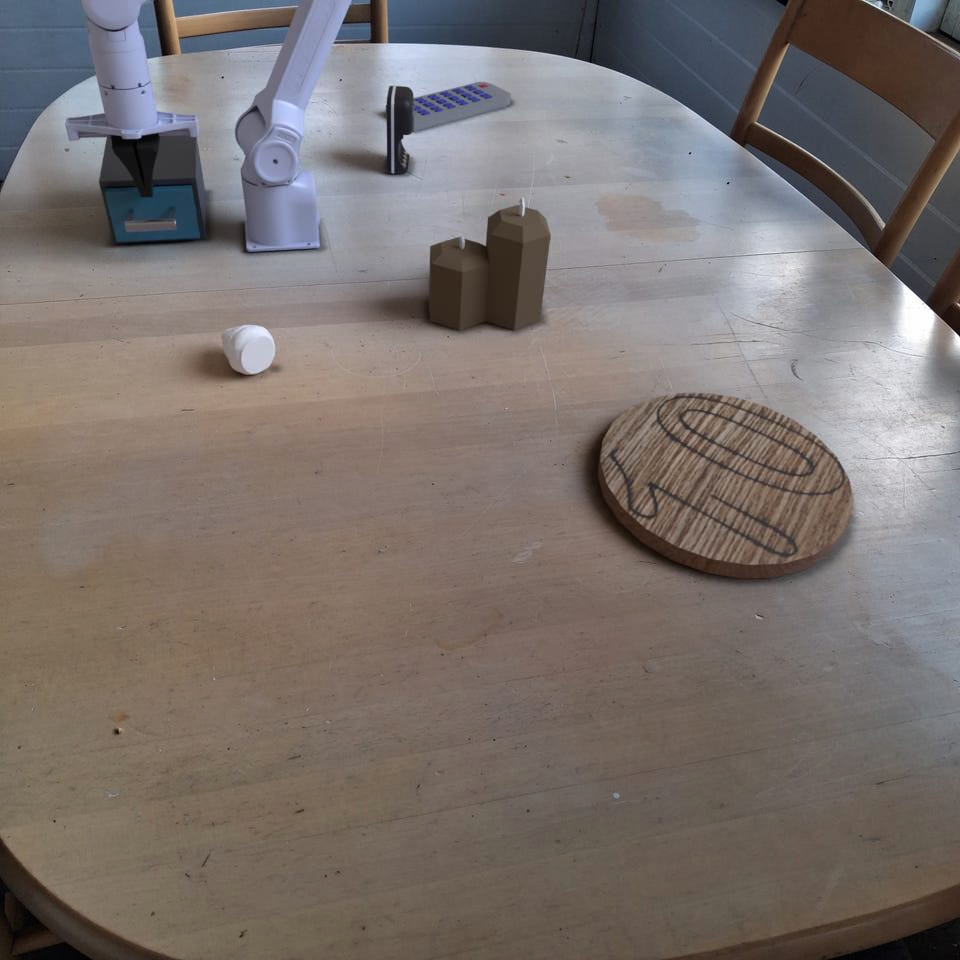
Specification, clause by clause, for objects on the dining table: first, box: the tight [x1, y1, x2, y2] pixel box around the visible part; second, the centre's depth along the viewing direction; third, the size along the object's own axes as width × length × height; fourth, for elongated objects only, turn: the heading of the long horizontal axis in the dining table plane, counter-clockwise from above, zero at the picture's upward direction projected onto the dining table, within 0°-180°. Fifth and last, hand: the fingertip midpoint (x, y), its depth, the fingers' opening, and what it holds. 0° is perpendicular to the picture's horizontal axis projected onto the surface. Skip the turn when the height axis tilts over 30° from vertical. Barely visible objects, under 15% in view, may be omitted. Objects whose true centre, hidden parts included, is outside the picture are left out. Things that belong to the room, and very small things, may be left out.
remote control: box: [385, 81, 512, 132], centre depth 156 cm, size 8×23×2 cm, turn 130°
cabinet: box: [98, 135, 207, 245], centre depth 121 cm, size 14×12×9 cm
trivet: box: [597, 392, 855, 580], centre depth 91 cm, size 25×25×2 cm
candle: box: [428, 197, 552, 331], centre depth 107 cm, size 14×14×15 cm
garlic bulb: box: [221, 324, 276, 375], centre depth 99 cm, size 6×6×5 cm
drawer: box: [105, 184, 200, 242], centre depth 118 cm, size 17×10×7 cm, turn 12°
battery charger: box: [386, 84, 415, 175], centre depth 136 cm, size 7×4×11 cm, turn 0°
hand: (147, 193), depth 111 cm, fingers closed
